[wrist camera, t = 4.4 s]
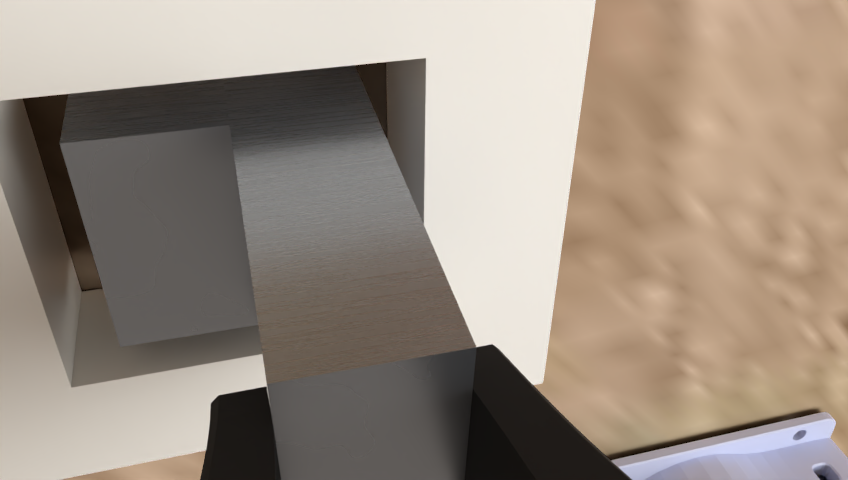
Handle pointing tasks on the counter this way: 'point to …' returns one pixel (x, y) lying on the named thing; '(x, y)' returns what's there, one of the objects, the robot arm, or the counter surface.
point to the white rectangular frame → (264, 54)
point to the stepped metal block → (282, 260)
